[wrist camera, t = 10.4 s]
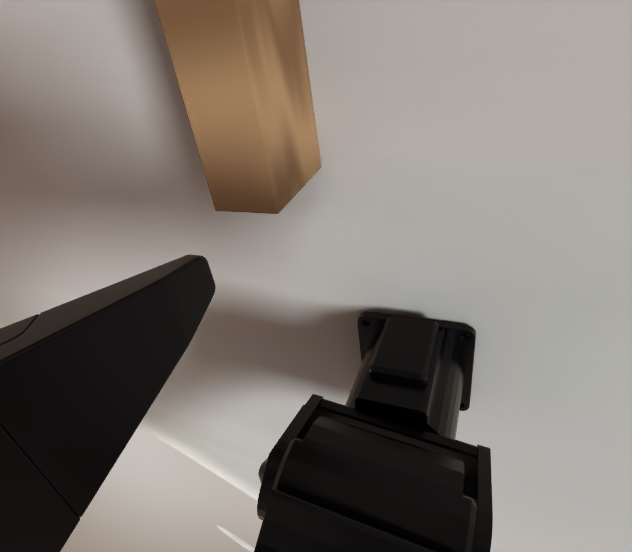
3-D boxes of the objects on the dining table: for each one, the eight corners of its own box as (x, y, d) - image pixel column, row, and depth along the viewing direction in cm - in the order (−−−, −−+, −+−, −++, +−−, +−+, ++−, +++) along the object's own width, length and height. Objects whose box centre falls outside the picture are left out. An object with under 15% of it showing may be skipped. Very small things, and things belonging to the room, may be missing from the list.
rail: (321, 167, 21) (278, 214, 18) (267, 166, 23) (214, 211, 19) (263, -264, 14) (164, -344, 10) (184, -232, 15) (67, -292, 11)
